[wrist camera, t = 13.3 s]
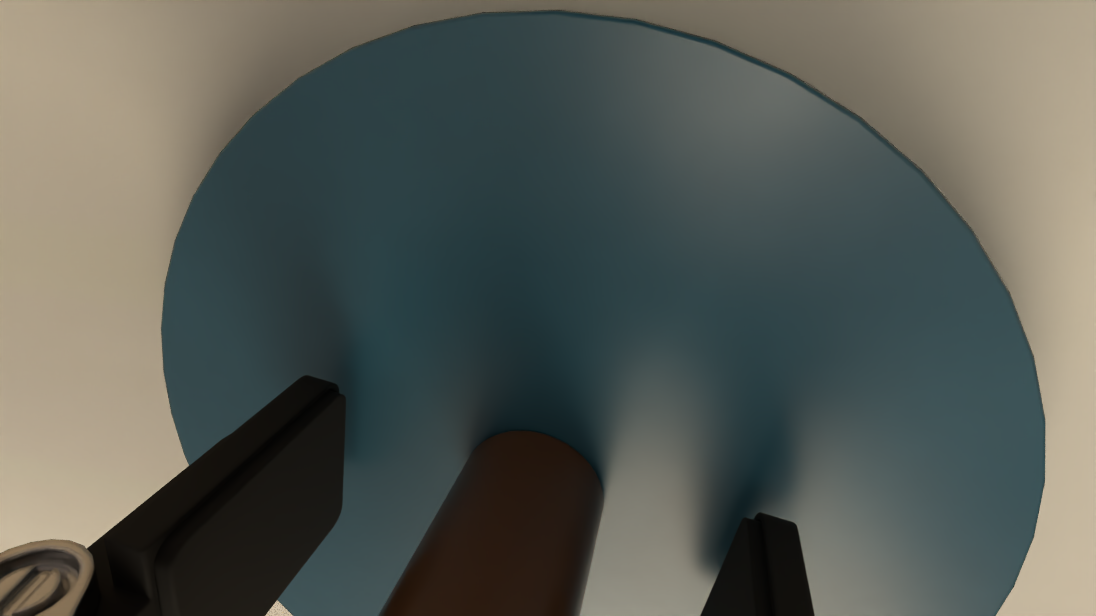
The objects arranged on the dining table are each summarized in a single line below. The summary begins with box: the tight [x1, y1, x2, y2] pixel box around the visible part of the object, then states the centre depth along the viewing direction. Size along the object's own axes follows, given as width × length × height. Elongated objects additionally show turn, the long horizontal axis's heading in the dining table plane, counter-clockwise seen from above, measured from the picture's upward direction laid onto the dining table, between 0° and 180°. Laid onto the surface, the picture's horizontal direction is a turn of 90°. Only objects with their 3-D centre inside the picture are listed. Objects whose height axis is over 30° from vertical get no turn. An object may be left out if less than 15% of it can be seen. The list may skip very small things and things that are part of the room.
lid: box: [161, 10, 1045, 616], centre depth 9 cm, size 16×16×7 cm
